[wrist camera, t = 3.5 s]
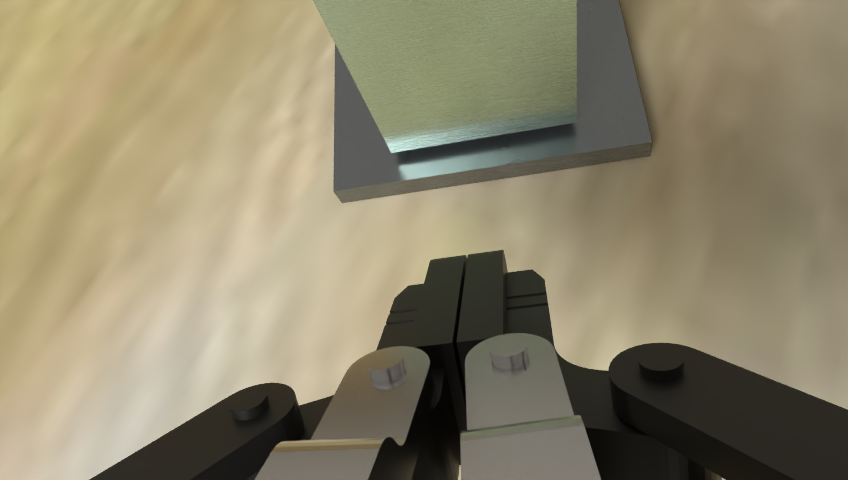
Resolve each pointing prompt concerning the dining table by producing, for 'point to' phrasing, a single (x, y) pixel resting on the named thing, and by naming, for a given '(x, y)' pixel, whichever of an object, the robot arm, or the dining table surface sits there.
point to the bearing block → (509, 153)
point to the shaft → (458, 65)
